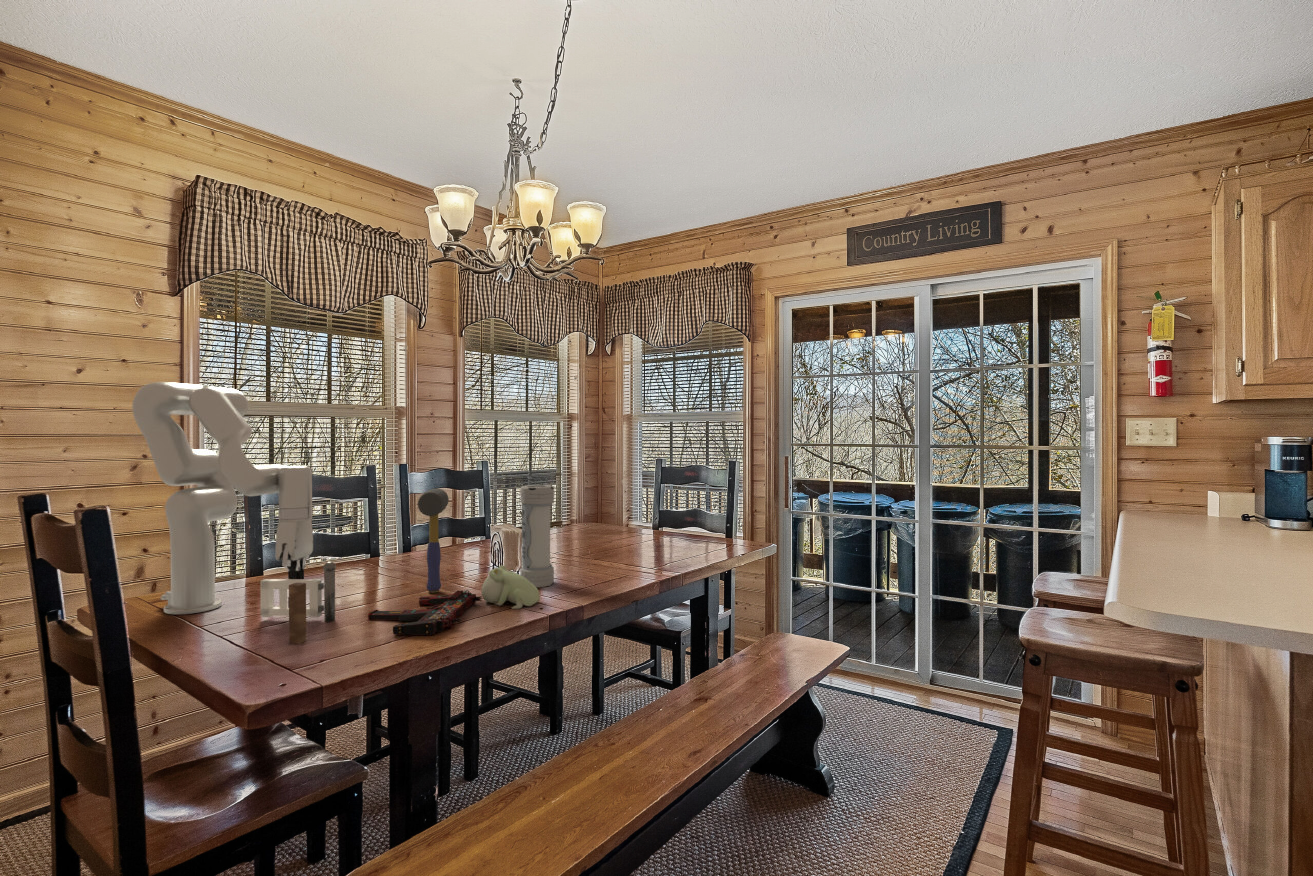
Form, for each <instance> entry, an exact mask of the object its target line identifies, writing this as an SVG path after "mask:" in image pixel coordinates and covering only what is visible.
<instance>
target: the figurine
mask: <svg viewBox="0 0 1313 876" xmlns="http://www.w3.org/2000/svg"><path fill="white" fill-rule="evenodd" d="M481 596H482V600H483V601H485V602H486V603H489V604H490V603H491V604H494V605H497V606H503V605H504V604H505V602H510V603H511V604H514V605H513V606H511V609H512V610H515V609H517V610H518V609H522V608H523V606H525V607H526V606H527V607H531V606H533V605H535V604H536V603H538V602H540V601H541V600H540V599H541V597H540V592H539V588H536V586H535V585H534V584H532V583H530V582H529V581H528V580H527V579H526V578H525V577H523V576H521V574H519V573H517V572H514V571H510V570H508V569H507V567H506V566H505V565H502V564H501V565H499V566H498V567H497V566H496V567H494V568H493V569H491V570H489V572H488V576H487V577H486V578H485V579H484V581H483V584H482V585H481Z"/></svg>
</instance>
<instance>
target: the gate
mask: <svg viewBox="0 0 1313 876" xmlns="http://www.w3.org/2000/svg"><path fill="white" fill-rule="evenodd" d="M259 583H260V618H271V617H273V616H279V617H280V616H281V617H282V616H288V617H289V608H288V590H289V585H290V584H293V583H306V590H309V592H308V594H309V596H308V597H309V601H308V603H309V606H306V617H307V616H308V617H309V618H311V619H312V618H314V619H315V618H316V619H317V618H320V617H321V616H322V615H323V614H322V613H323V612H324V604H322V597H323V595H322V594H323V592H322V590H323V589H324V582H323V581H322V579H321V578H320V579H318V578H317V579H314V578H313V579H306V578H304V579H288V578H283V579H282V578H265V579H262V580H260V582H259ZM274 590H278V593H279V600H278V601H279V606H274Z"/></svg>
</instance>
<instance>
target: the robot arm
mask: <svg viewBox="0 0 1313 876" xmlns="http://www.w3.org/2000/svg"><path fill="white" fill-rule="evenodd" d="M131 410H132V414H133V415H132V416H133V418H134V421H135V423H136V424H137V427H138V429H139V430H140V432H141V434H142V436H143V438H144V439H145V442H146V444H147V447H148V449H149V453H150V455H151V459H152V461H153V463H154V466H155V468H156V470H157V471H156V472H157V473H158V476H159V478H160V480H161V481H162V482H163V483H164V484H165V485H167V486H171V487H180V486H193V485H196V487H189V488H184V489H181V490H177V491H176V492H174V493H172V494H170V496H169V497H168V498H167V500H166V502H165V506H164V511H165V517H166V520H167V525H168V531H169V543H170V544H169V546H170V547H169V549H170V550H169V551H170V590H167V591H165V592H164V594H162V595H160V600H161V601H167V604H166V605H165V606H164V607H163V613H165V614H166V615H167V614H168V615H191V614H197V613H203V612H208V611H212V610H215V609H217V608H218V609H219V608H220V607H221V606H222V604H223V600H222V599H221V598H217V597H216V589H215V588H216V583H215V582H216V575H215V574H216V572H215V571H216V570H215V569H216V568H215V566H216V563H215V561H216V558H215V552H216V550H215V545H216V544H215V537H214V533H213V531H212V529H211V528H210V526H209V524H208V523H210V522H216V521H222V520H225V519H228V518H230V517H232V516H233V514H234V513H235V512H236V510H237V508H238V497H237V493H236V491H237V492H239V493H240V494H241V495H243V496H247V497H257V496H265V495H272V494H278V523H277V527H276V529H277V530H276V536H275V537H276V538H275V554H274V555H275V560H277V561H282V562H281V566H282V567H286V571H287V572H288V573H287V575H288V576H287V579H305V568H306V561H307V560H308V559H309V558H310V555H311V554H312V553H313V551H314V532H313V524H312V520H313V473H312V468H311V467H309V466H307V465H283V464H262V465H260V464H259V465H254V464H252V462H251V461H250V459H249V458H248V457H247V456H246V455H245V453H244V451H243V448H242V445H243V444H245V443H246V442H247V441H248V440H249V439H250V437H251V436H252V433H253V430H252V427H251V426H250V425H249V423H248V422H247V421H246V419H244V416H245V415H246V414H247V412H248V410H249V403H248V400H247V398H246V395H244V393H242V392H241V391H239V390H238V389H235V388H229V387H228V388H227V387H218V386H211V385H204V384H203V385H202V384H194V383H183V382H182V383H180V382H169V381H157V382H151V383H147V384H145V385H143V386H142V387H140V388H139V389H138V390H137V391H136V393H135V395H134V398H133V400H132V409H131ZM172 415H176V416H195V417H196V419H197V420H198V421H199V422H200V424H201V425H202V426H203V428H204V429H205V431H207V433H208V434H209V435H210V437H211V438H212V439H213V440H214V442H215V443H216V444H217V446H218V451H217V453H216V452H215V451H213V450H210V449H206V448H197V449H196V448H195V449H194V448H192V447H191V444H190V443H189V440H188V438H187V435H186V432H185V430H183V428H182V427H181V426H180V425H179V424H178V423H177V422H176V421H175V420H174V419H173V418H172V417H171V416H172Z"/></svg>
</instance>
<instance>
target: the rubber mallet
mask: <svg viewBox="0 0 1313 876" xmlns="http://www.w3.org/2000/svg"><path fill="white" fill-rule="evenodd" d="M449 500H450V498H449V495H448V493H447V492H446V491H445V490H444V489H441V488H431V489H428V490H426V491H424V492H423V493H422V494H421V495H420V497H419V499H418V501H417V507H418V511H419V512H420V513H422V514H423V515H424V516H427V517H429V522H428V523H429V527H428V528H429V530H428V531H429V539H428V540H429V541H428V544H427V548H426V549H427V551H426V563H427V583H426V589H427V591H428V592H429V593H438V592H440V590H441V588H442V582H441V579H440V578H441V574H440V573H441V571H440V570H441V568H440V566H441V558H442V555H441V544H440V542H439V540H440V539H439V532H440V531H439V514H441V513H442V512H443V511H445V509H446V508H447V506H448V505H449Z"/></svg>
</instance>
